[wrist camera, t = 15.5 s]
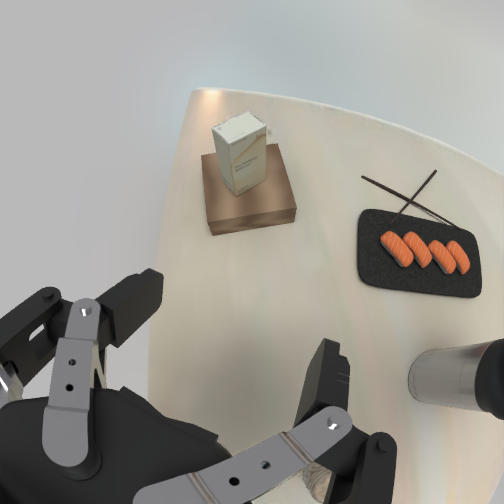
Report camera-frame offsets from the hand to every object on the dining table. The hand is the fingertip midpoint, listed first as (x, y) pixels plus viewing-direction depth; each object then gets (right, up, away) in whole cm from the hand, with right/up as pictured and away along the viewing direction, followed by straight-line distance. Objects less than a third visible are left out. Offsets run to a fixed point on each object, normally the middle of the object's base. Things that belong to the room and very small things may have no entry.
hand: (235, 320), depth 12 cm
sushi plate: (+34, +9, +35) cm, 50 cm away
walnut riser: (0, +13, +37) cm, 39 cm away
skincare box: (-1, +15, +33) cm, 36 cm away
